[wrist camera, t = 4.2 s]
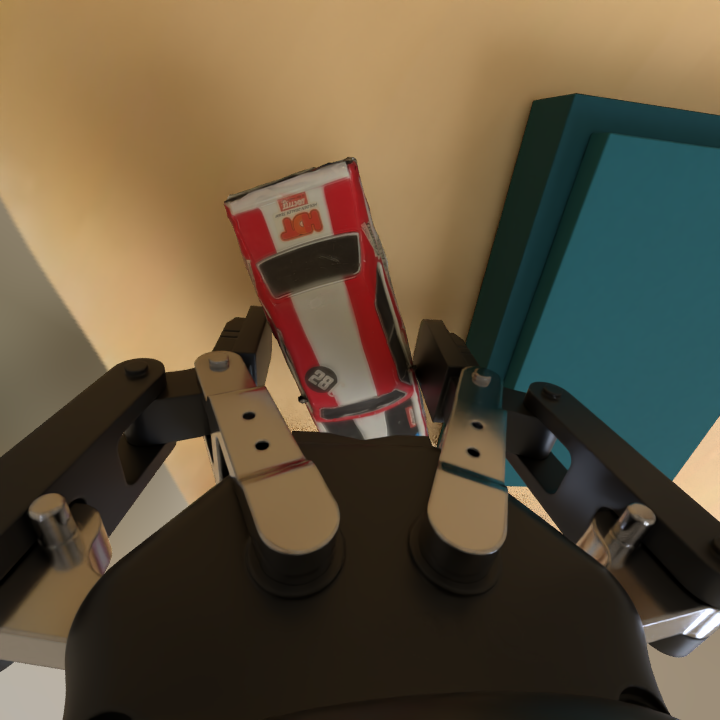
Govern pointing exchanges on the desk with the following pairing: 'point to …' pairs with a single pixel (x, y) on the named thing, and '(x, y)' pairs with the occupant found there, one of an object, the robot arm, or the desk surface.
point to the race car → (330, 300)
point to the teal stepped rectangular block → (611, 271)
